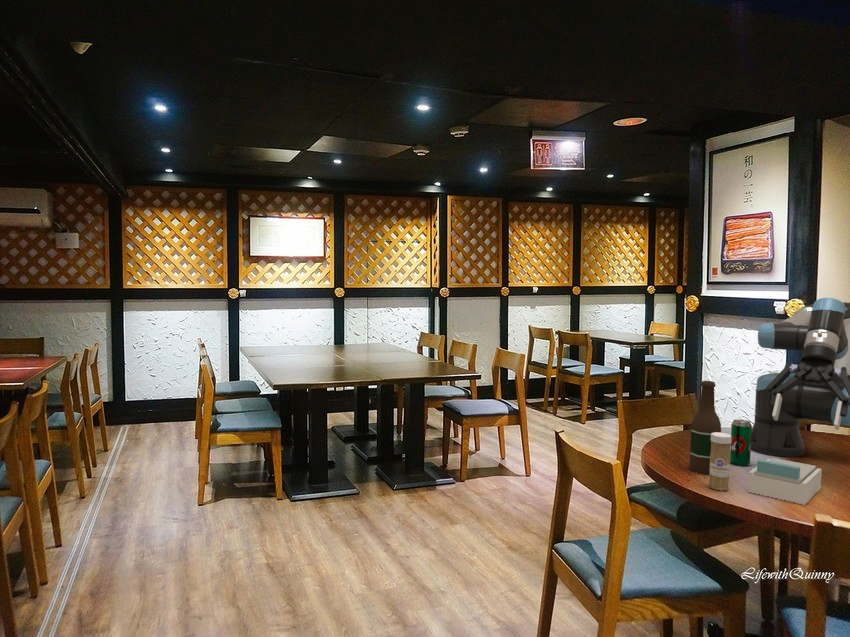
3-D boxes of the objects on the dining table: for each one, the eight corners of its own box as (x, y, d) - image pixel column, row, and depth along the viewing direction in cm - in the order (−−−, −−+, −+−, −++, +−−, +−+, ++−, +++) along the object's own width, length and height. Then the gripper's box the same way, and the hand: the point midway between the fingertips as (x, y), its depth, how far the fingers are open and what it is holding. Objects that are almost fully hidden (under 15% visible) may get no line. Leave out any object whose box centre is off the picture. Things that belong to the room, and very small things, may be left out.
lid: (773, 460, 162) (773, 447, 162) (816, 469, 156) (816, 455, 156) (754, 474, 151) (754, 460, 150) (799, 483, 144) (800, 469, 144)
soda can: (753, 466, 173) (755, 423, 172) (734, 466, 173) (736, 422, 172) (745, 461, 178) (747, 419, 177) (726, 460, 178) (728, 418, 177)
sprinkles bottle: (711, 490, 153) (713, 435, 152) (706, 484, 157) (708, 431, 156) (731, 492, 152) (734, 436, 151) (725, 485, 156) (728, 432, 155)
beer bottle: (725, 471, 168) (729, 382, 167) (712, 477, 163) (716, 385, 161) (696, 464, 174) (700, 378, 172) (683, 470, 169) (686, 380, 167)
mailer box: (767, 477, 163) (767, 458, 163) (820, 488, 155) (821, 469, 155) (747, 492, 152) (748, 472, 151) (804, 505, 144) (805, 483, 143)
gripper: (765, 339, 173) (747, 407, 165) (875, 347, 156) (862, 424, 148) (770, 353, 178) (754, 421, 170) (878, 362, 161) (866, 438, 153)
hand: (804, 422), depth 159 cm, fingers open, 13 cm apart
